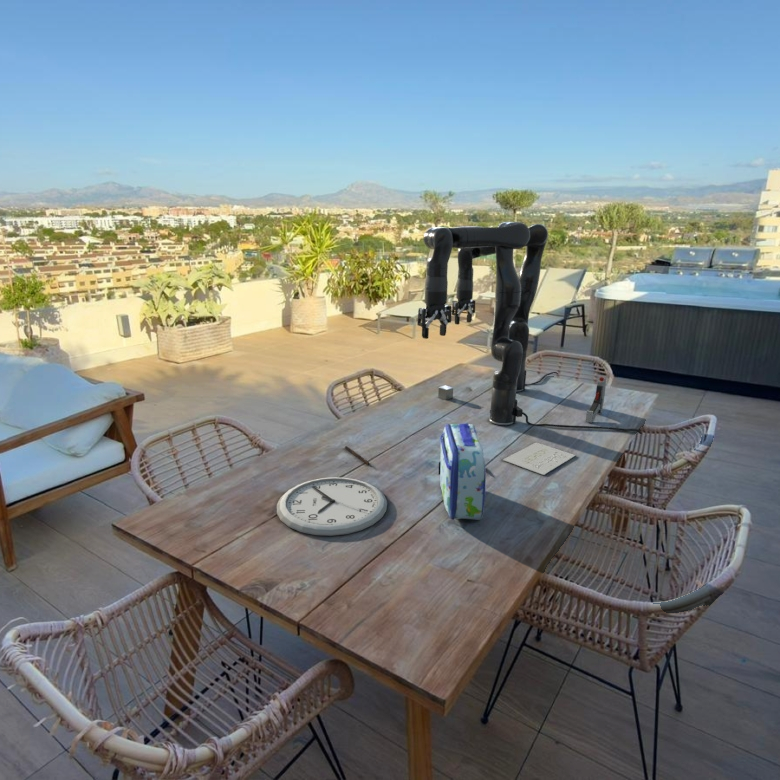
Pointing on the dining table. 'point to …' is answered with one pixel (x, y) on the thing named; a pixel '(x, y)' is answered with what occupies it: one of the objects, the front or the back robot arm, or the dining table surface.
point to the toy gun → (597, 401)
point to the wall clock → (331, 506)
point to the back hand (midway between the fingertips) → (463, 323)
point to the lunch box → (462, 472)
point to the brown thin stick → (357, 455)
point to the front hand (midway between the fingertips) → (434, 336)
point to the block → (445, 392)
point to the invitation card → (539, 458)
